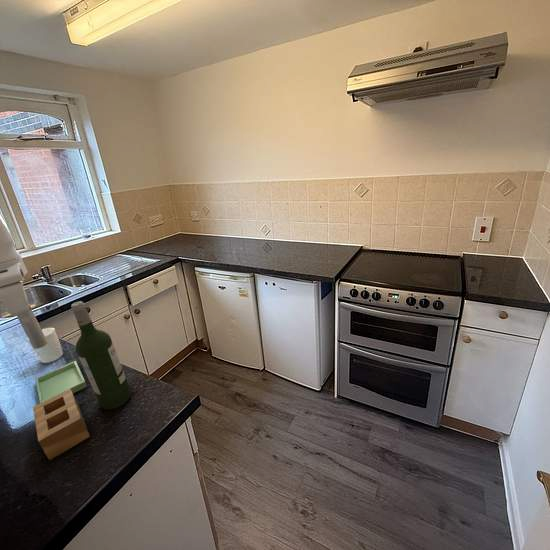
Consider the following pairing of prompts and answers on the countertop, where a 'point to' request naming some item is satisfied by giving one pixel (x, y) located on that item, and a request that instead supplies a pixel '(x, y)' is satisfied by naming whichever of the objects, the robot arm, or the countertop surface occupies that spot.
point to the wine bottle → (100, 361)
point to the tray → (60, 381)
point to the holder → (59, 424)
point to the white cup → (49, 347)
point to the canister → (33, 331)
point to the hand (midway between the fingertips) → (27, 318)
